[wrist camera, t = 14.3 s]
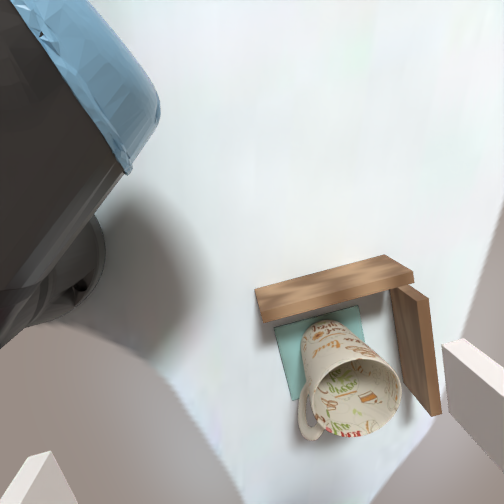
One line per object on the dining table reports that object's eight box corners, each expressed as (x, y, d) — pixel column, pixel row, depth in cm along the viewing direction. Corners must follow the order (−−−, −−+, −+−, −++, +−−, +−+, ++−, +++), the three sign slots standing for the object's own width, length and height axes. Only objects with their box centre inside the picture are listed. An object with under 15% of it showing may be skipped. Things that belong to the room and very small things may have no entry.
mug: (372, 324, 41) (419, 375, 31) (324, 410, 44) (354, 482, 34) (309, 299, 39) (338, 345, 30) (263, 390, 42) (276, 459, 32)
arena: (287, 414, 44) (297, 453, 38) (254, 289, 39) (260, 312, 33) (412, 380, 44) (442, 413, 38) (394, 251, 39) (424, 268, 33)
